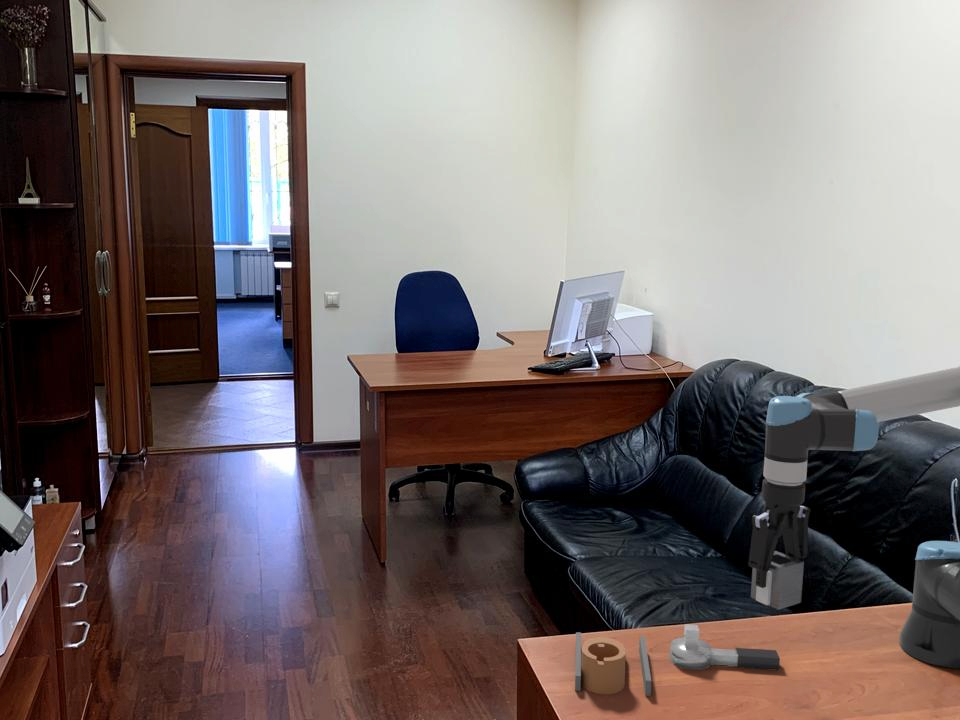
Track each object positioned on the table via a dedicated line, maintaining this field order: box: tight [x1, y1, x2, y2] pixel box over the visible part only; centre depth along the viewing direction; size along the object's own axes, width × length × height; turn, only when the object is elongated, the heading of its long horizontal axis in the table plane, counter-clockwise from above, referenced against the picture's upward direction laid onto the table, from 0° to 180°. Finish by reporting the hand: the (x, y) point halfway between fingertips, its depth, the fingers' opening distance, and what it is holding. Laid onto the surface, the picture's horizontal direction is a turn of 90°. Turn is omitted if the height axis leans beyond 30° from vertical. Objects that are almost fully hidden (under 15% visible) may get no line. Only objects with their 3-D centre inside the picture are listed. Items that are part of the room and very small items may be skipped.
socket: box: [750, 550, 805, 611], centre depth 165 cm, size 6×6×8 cm
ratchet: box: [669, 623, 781, 671], centre depth 176 cm, size 21×8×7 cm, turn 83°
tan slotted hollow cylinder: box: [581, 636, 627, 695], centre depth 172 cm, size 18×8×7 cm, turn 171°
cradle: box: [574, 631, 652, 697], centre depth 172 cm, size 14×18×3 cm
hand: (775, 598), depth 166 cm, fingers closed on socket, 6 cm apart
